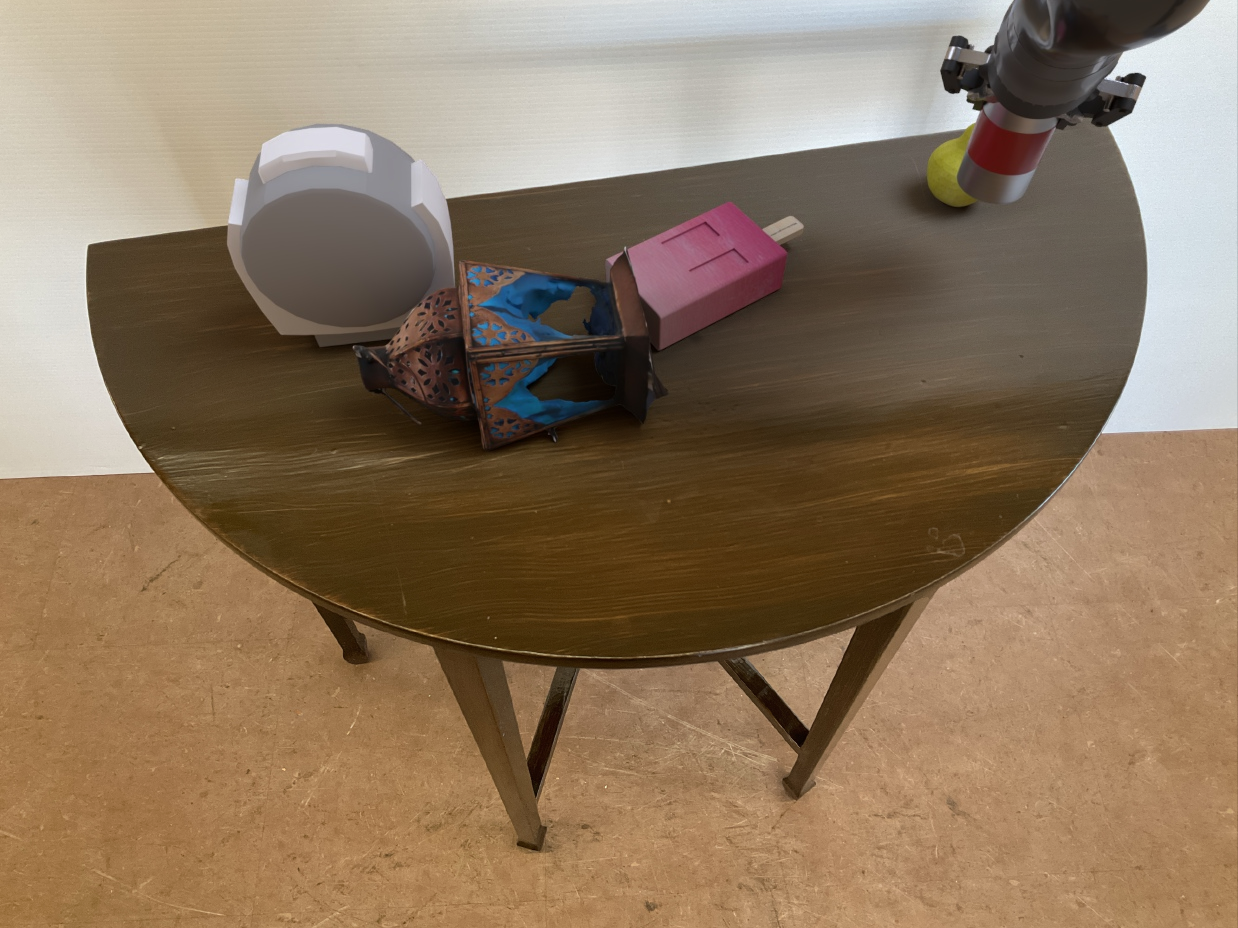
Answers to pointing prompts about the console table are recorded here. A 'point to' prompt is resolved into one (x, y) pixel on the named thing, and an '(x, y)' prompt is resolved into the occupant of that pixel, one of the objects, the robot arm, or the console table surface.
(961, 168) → the can
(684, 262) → the popsicle
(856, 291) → the console table surface
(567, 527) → the console table surface
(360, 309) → the alarm clock
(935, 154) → the fruit
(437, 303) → the lantern
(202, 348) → the console table surface
